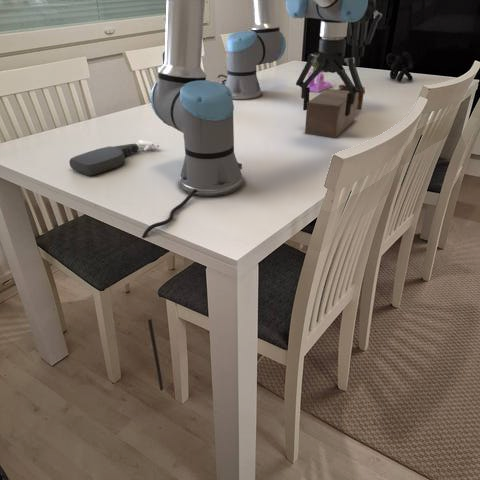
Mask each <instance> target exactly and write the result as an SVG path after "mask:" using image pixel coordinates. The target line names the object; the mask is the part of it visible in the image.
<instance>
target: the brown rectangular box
mask: <svg viewBox="0 0 480 480" xmlns="http://www.w3.org/2000/svg"><path fill="white" fill-rule="evenodd" d="M348 93H349V91H344V90H337V89H334V88H333V89H332V88H327V89H325V90H323V91H321V92H320V93H319V94H317V95H316V96H315V97H313V98H312V99H309V102H307V110H306V113H305V115H306V116H305V129H304V130H305V131H304V134H308V135H313V136H314V135H315V136H320V137H327V138H332V139H333V138H334V139H335V138H337V137H338V136H339V135H341V134H342V132H344V131H345V130H346V129H347V128H348V127H349V126H350V125H352V124H353V122H355V121H354V119H355V114H356V111H355V104H356V96H357V93H356V95H355V102H354V104H353V105H351V110H350V114H349V115H348V116H345V111H346V102H347V94H348Z"/></svg>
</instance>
